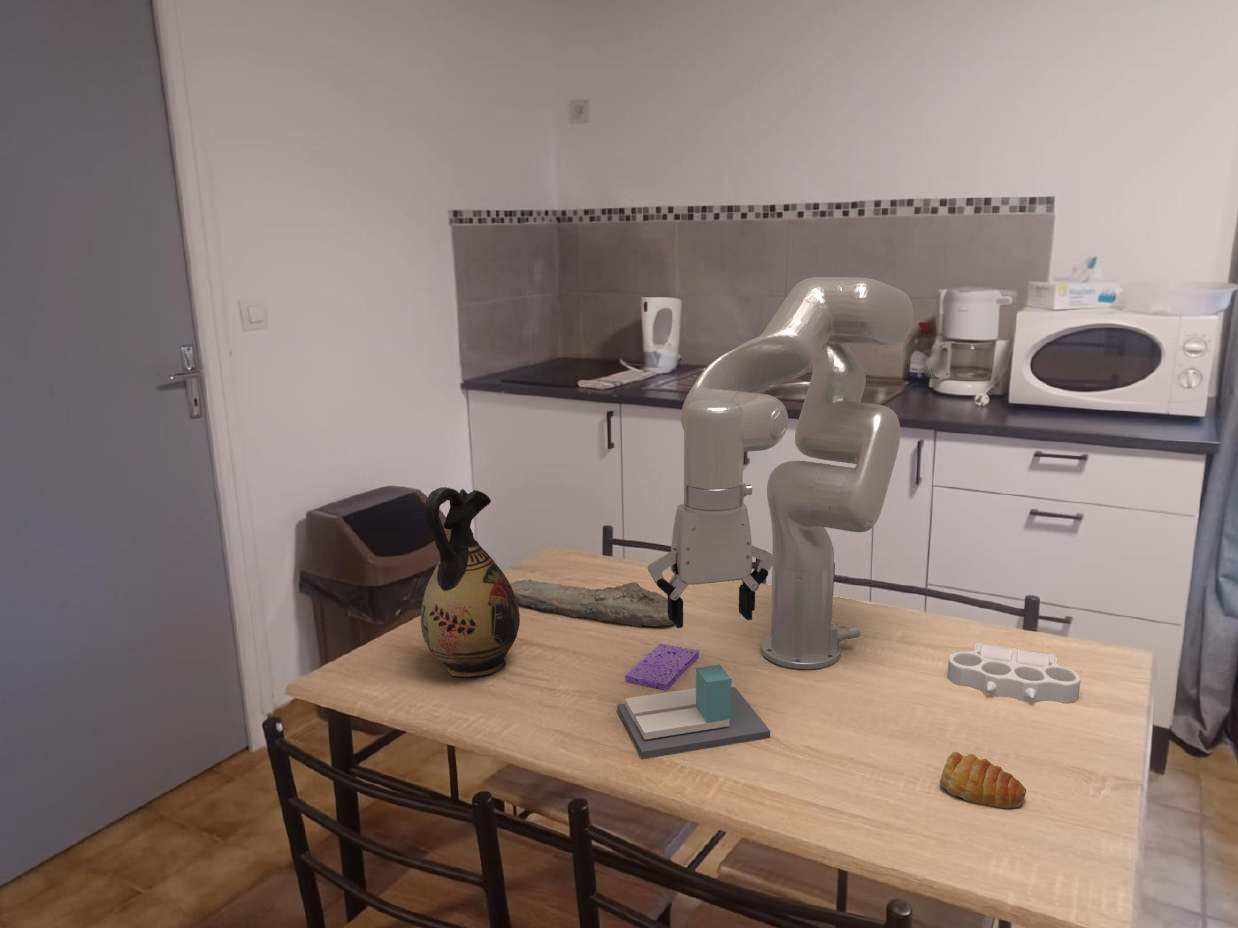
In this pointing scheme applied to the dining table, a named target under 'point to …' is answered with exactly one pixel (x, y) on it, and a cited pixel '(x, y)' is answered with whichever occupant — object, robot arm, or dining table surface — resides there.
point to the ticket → (661, 702)
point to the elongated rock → (596, 602)
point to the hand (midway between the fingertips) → (711, 620)
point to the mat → (740, 729)
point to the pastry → (981, 782)
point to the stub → (706, 714)
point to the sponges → (662, 666)
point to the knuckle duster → (1014, 674)
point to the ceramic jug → (466, 592)
